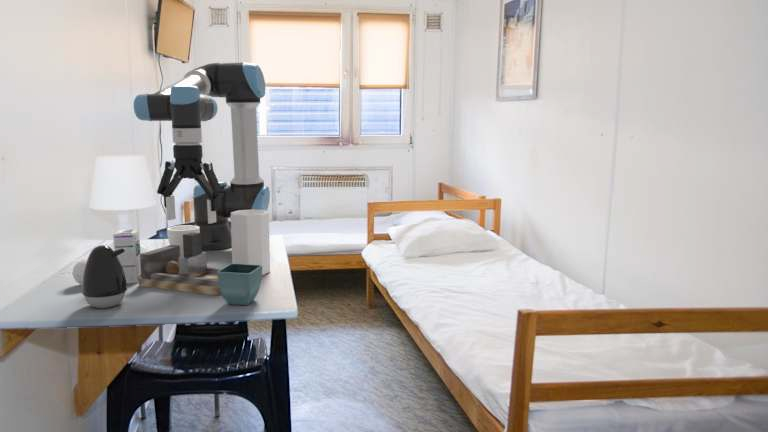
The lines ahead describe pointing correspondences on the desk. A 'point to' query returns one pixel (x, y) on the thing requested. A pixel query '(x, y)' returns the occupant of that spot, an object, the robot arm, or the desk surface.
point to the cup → (251, 238)
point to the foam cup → (180, 235)
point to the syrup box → (129, 253)
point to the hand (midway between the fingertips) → (191, 221)
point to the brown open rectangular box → (158, 278)
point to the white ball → (79, 271)
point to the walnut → (172, 267)
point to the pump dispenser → (104, 278)
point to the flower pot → (240, 283)
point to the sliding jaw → (192, 256)
